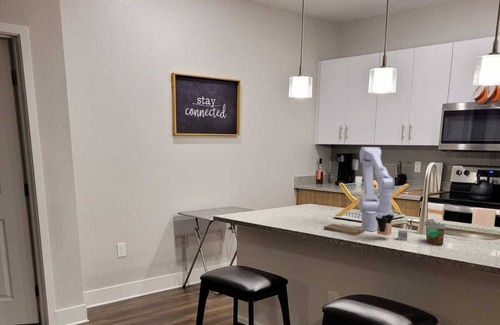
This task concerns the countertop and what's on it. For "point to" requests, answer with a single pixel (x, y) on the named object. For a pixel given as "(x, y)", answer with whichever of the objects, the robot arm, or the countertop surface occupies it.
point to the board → (344, 229)
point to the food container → (434, 232)
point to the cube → (387, 229)
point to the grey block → (402, 235)
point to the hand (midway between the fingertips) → (384, 230)
